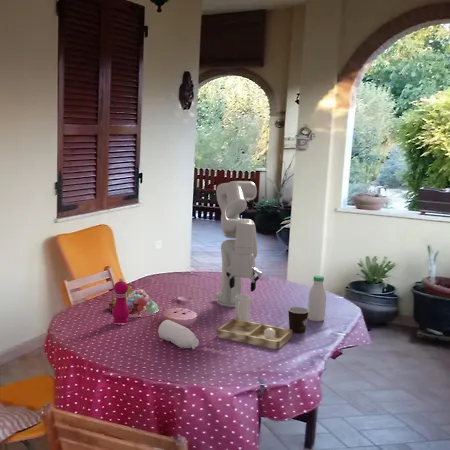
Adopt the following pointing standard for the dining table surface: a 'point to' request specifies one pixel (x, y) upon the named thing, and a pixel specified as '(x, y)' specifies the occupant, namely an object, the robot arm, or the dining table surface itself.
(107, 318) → the dining table surface
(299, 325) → the coffee mug
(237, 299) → the mug
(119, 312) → the pepper mill
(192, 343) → the white plastic bottle
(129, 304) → the candy landscape model
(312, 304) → the milk bottle
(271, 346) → the caddy
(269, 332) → the stone egg
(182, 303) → the dining table surface
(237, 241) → the robot arm
